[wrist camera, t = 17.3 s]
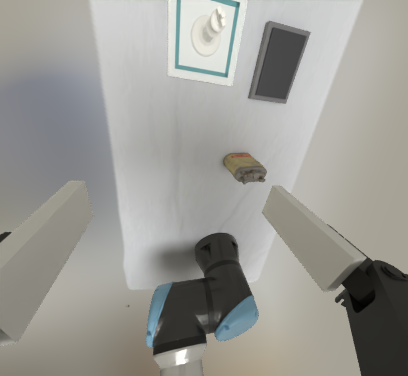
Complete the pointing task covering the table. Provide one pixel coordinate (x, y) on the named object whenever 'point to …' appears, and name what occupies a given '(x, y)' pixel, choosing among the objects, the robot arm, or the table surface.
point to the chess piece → (208, 32)
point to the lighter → (245, 168)
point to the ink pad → (278, 62)
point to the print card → (182, 47)
